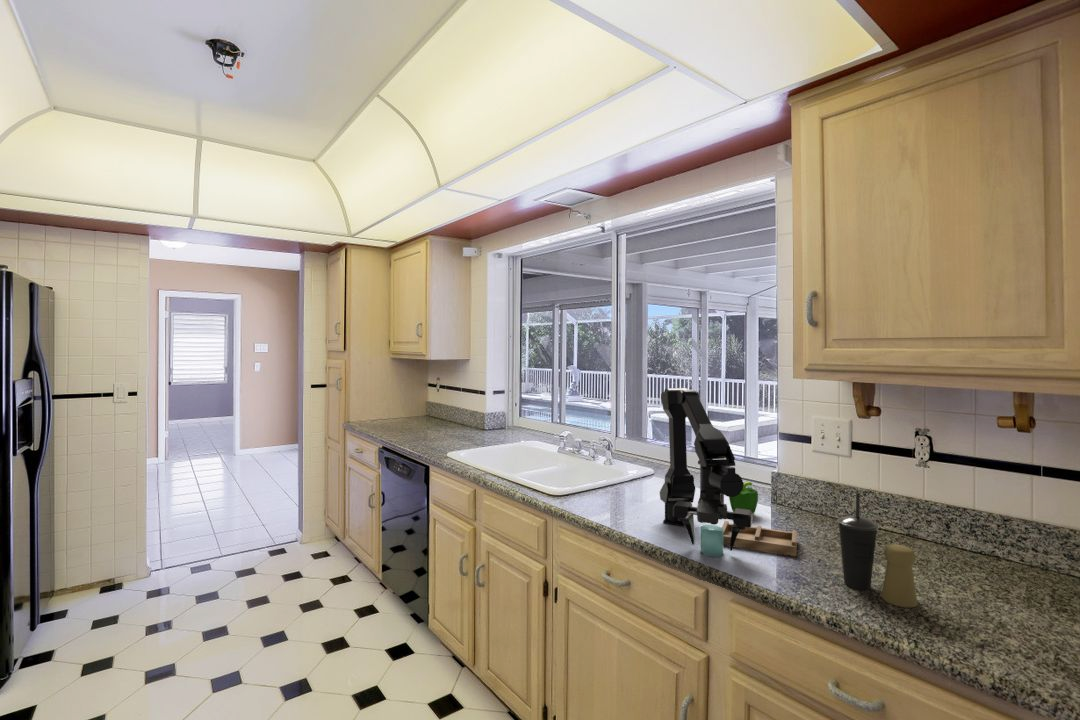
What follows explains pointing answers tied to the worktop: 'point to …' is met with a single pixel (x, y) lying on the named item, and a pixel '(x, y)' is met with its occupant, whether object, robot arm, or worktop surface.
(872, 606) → the worktop surface
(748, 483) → the bell pepper
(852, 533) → the drinking cup
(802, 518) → the worktop surface
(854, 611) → the worktop surface
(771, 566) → the worktop surface
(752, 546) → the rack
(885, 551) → the cork
